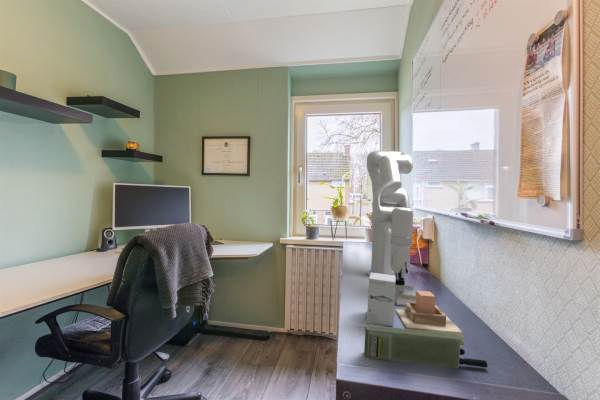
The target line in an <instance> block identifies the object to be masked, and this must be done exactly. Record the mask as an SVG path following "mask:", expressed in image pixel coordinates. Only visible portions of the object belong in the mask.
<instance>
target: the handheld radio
mask: <svg viewBox="0 0 600 400" xmlns="http://www.w3.org/2000/svg"><path fill="white" fill-rule="evenodd" d="M364 327H365V329H364V348H363V349H364V351H363V353H364V357H365V358H366V359H367V358H368V359H375V360H383V361H392V362H400V363H407V364H416V365H417V364H418V365H425V366H433V367H443V368H450V369H460V366H461V365H466V366H471V367H472V366H473V367H480V368H488V361H486V360H484V359H475V358H474V359H473V358H462V357H461V356H463V355H465V353H466V351H465V349H464V348H461V346H464V345H465V341H464V340H465V339H466V337H465V336H464V335H460V334H451V333H441V332H431V331H421V330H411V329H405V328H401V327H391V326H378V325H370V324H366V325H365V326H364Z"/></svg>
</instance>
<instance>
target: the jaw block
mask: <svg viewBox="0 0 600 400" xmlns="http://www.w3.org/2000/svg"><path fill="white" fill-rule="evenodd" d="M415 292H416V305H415V312H416V313H425V314H435V305H436V296H435V294H433V292H431V291H425V290H416V291H415Z"/></svg>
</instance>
